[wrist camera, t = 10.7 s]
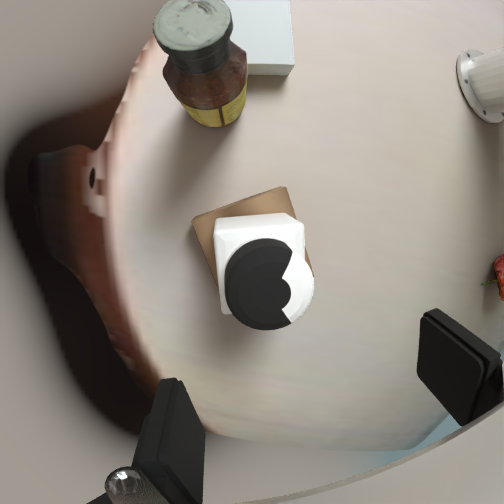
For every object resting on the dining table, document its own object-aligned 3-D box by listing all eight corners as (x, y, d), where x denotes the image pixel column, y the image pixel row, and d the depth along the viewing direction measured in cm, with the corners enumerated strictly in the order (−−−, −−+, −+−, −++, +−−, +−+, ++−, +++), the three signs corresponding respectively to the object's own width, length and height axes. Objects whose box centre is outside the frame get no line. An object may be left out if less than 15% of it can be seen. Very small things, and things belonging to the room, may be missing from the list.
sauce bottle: (236, 72, 30) (249, -35, 11) (250, 122, 31) (282, 50, 12) (179, 87, 30) (130, -7, 10) (192, 137, 31) (147, 83, 12)
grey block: (282, 9, 28) (288, -6, 24) (287, 76, 31) (294, 64, 27) (200, 10, 28) (198, -6, 24) (199, 77, 30) (196, 65, 26)
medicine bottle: (221, 286, 32) (222, 347, 20) (214, 217, 30) (210, 245, 18) (289, 279, 32) (324, 334, 21) (286, 212, 30) (325, 235, 19)
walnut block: (279, 186, 34) (286, 187, 30) (305, 266, 36) (314, 277, 32) (195, 216, 34) (191, 221, 30) (226, 294, 36) (226, 308, 32)
